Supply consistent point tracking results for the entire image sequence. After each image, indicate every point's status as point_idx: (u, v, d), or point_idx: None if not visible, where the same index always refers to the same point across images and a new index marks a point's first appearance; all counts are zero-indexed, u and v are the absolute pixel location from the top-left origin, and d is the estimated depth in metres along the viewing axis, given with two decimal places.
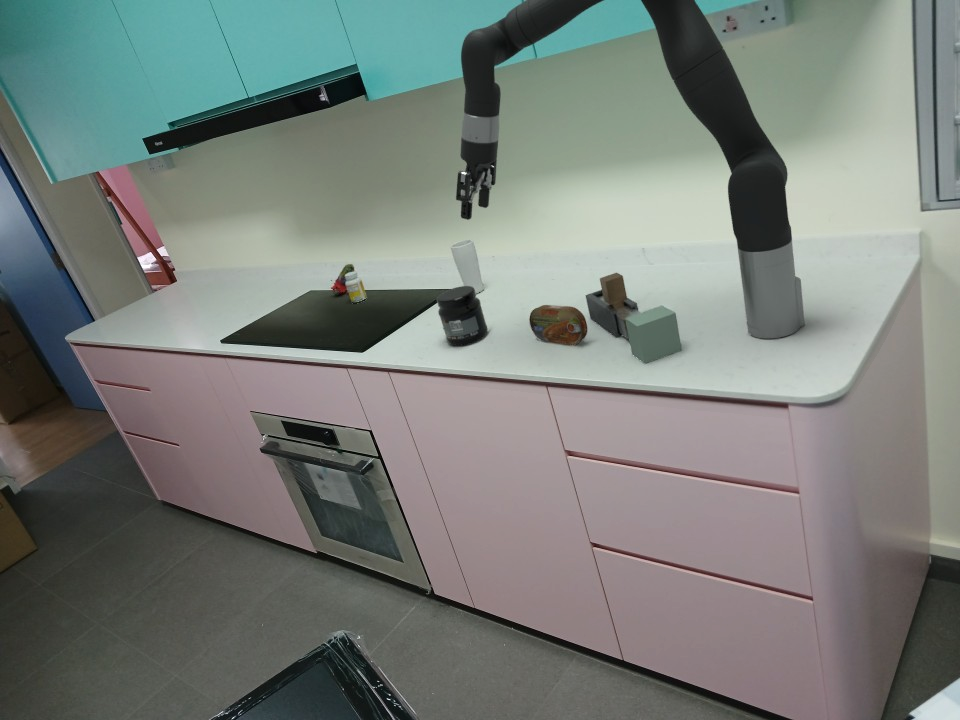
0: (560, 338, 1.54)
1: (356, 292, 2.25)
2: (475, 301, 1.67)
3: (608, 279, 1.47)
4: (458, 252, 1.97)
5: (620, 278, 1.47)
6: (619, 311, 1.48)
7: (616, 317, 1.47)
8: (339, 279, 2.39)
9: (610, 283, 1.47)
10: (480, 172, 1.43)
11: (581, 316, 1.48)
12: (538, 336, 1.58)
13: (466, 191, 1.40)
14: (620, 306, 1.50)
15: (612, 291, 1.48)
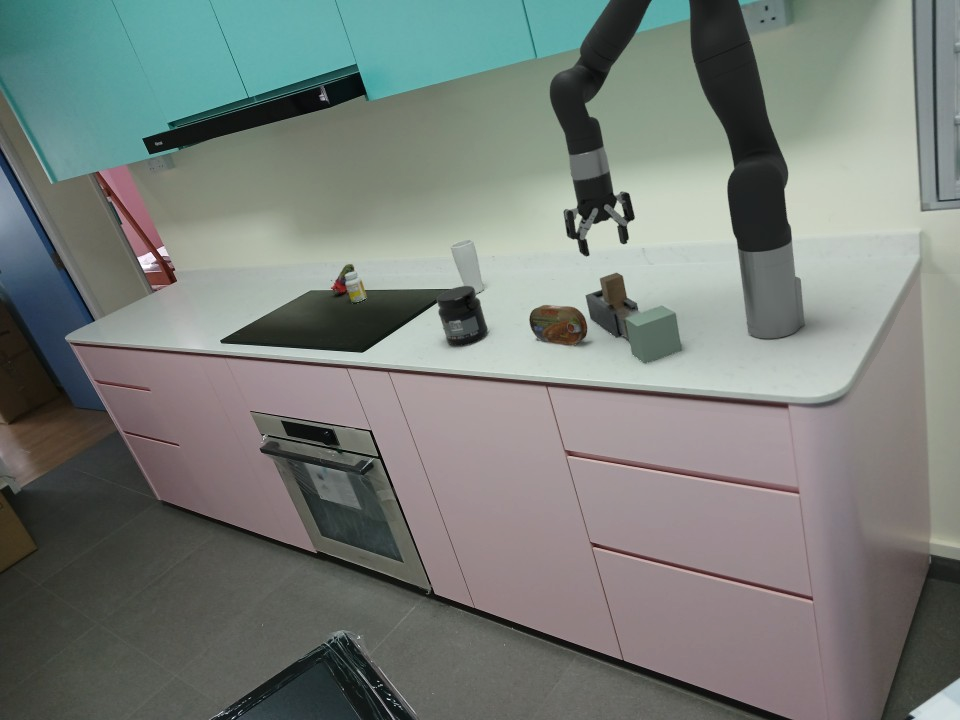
0: (560, 339, 1.54)
1: (356, 292, 2.25)
2: (475, 301, 1.67)
3: (608, 279, 1.47)
4: (458, 252, 1.97)
5: (620, 278, 1.47)
6: (619, 311, 1.48)
7: (616, 317, 1.47)
8: (339, 279, 2.39)
9: (610, 283, 1.47)
10: (592, 208, 1.41)
11: (581, 316, 1.48)
12: (538, 336, 1.58)
13: (569, 228, 1.41)
14: (620, 306, 1.50)
15: (612, 291, 1.48)
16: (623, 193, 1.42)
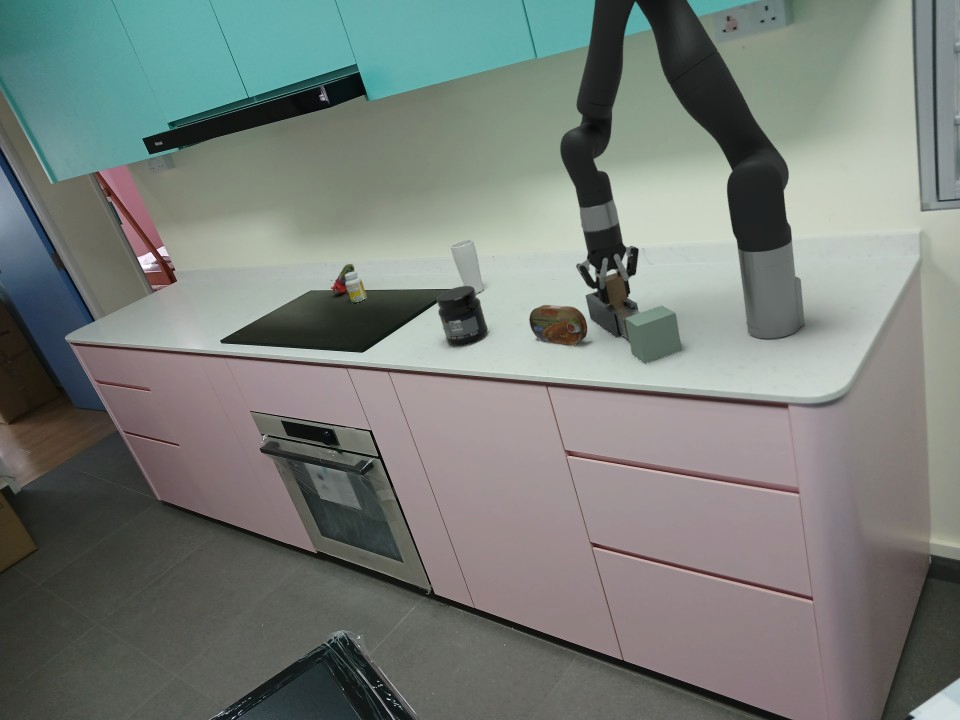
0: (560, 339, 1.54)
1: (356, 292, 2.25)
2: (475, 301, 1.67)
3: (608, 279, 1.47)
4: (458, 252, 1.97)
5: (620, 278, 1.47)
6: (619, 311, 1.48)
7: (616, 317, 1.47)
8: (339, 279, 2.39)
9: (610, 283, 1.47)
10: (601, 259, 1.45)
11: (581, 316, 1.48)
12: (538, 336, 1.58)
13: (587, 281, 1.46)
14: (620, 306, 1.50)
15: (612, 291, 1.48)
16: (633, 247, 1.47)
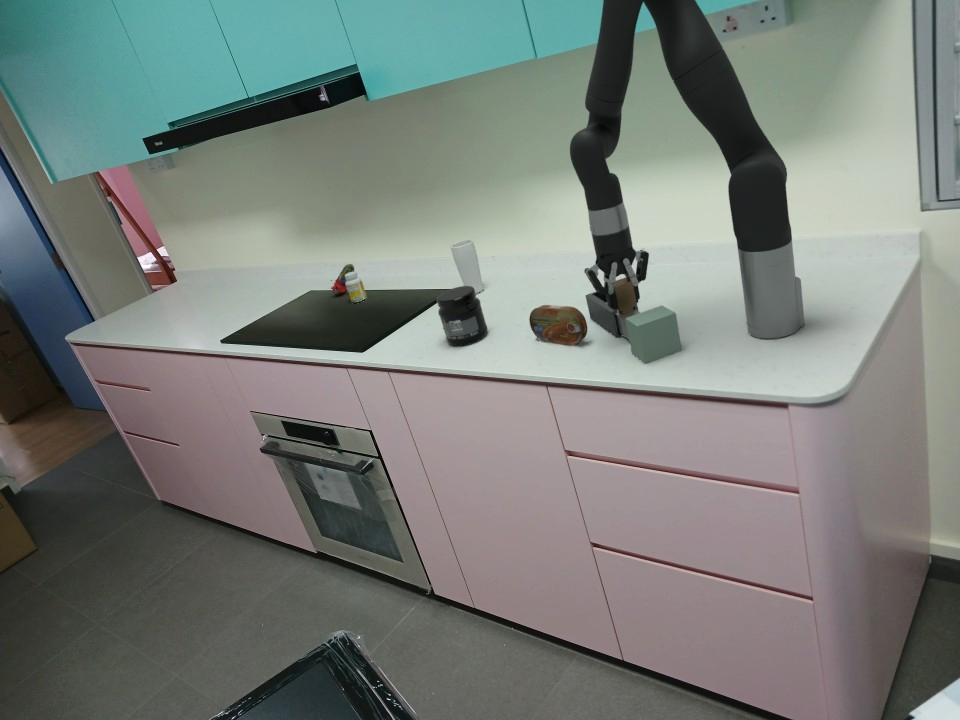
0: (560, 338, 1.54)
1: (356, 292, 2.25)
2: (475, 301, 1.67)
3: (617, 284, 1.43)
4: (458, 252, 1.97)
5: (630, 283, 1.43)
6: None
7: (625, 323, 1.43)
8: (339, 279, 2.39)
9: (619, 288, 1.43)
10: (610, 263, 1.41)
11: (581, 316, 1.48)
12: (538, 336, 1.58)
13: (595, 286, 1.42)
14: (630, 312, 1.45)
15: (622, 296, 1.43)
16: (643, 251, 1.42)
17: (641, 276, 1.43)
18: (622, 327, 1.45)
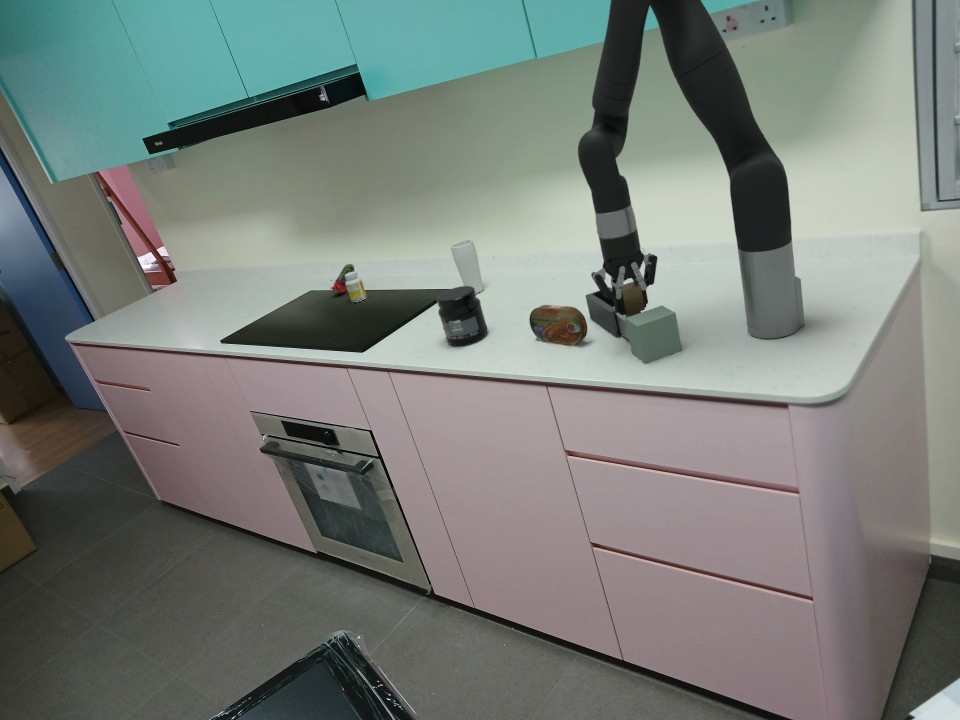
0: (560, 338, 1.54)
1: (356, 292, 2.25)
2: (475, 301, 1.67)
3: (625, 288, 1.40)
4: (458, 252, 1.97)
5: (638, 287, 1.39)
6: None
7: None
8: (339, 279, 2.39)
9: (627, 292, 1.39)
10: (618, 267, 1.37)
11: (581, 316, 1.48)
12: (538, 336, 1.58)
13: (603, 290, 1.38)
14: None
15: (629, 301, 1.40)
16: (651, 255, 1.39)
17: (649, 280, 1.40)
18: None
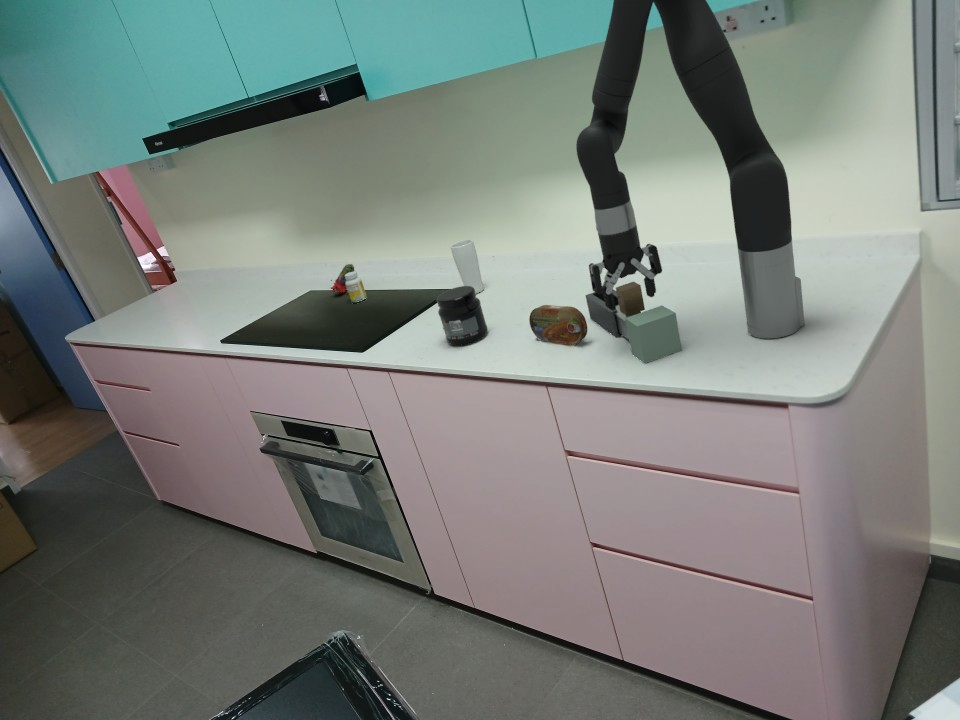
0: (560, 339, 1.54)
1: (356, 292, 2.25)
2: (475, 301, 1.67)
3: (625, 288, 1.40)
4: (458, 252, 1.97)
5: (638, 287, 1.39)
6: None
7: None
8: (339, 279, 2.39)
9: (627, 292, 1.39)
10: (618, 263, 1.37)
11: (581, 316, 1.48)
12: (538, 336, 1.58)
13: (595, 283, 1.37)
14: None
15: (629, 301, 1.40)
16: (650, 246, 1.38)
17: (657, 270, 1.39)
18: None
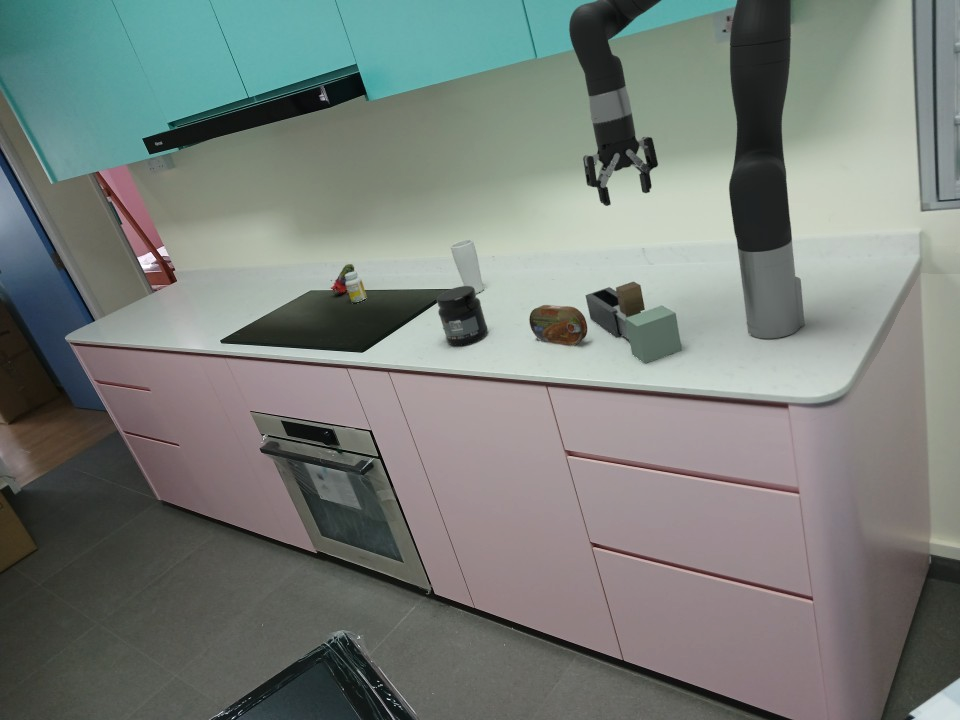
0: (560, 339, 1.54)
1: (356, 292, 2.25)
2: (475, 301, 1.67)
3: (625, 288, 1.40)
4: (458, 252, 1.97)
5: (638, 287, 1.39)
6: None
7: None
8: (339, 279, 2.39)
9: (627, 292, 1.39)
10: (613, 154, 1.34)
11: (581, 316, 1.48)
12: (538, 336, 1.58)
13: (589, 175, 1.35)
14: None
15: (629, 301, 1.40)
16: (646, 138, 1.35)
17: (652, 163, 1.37)
18: None
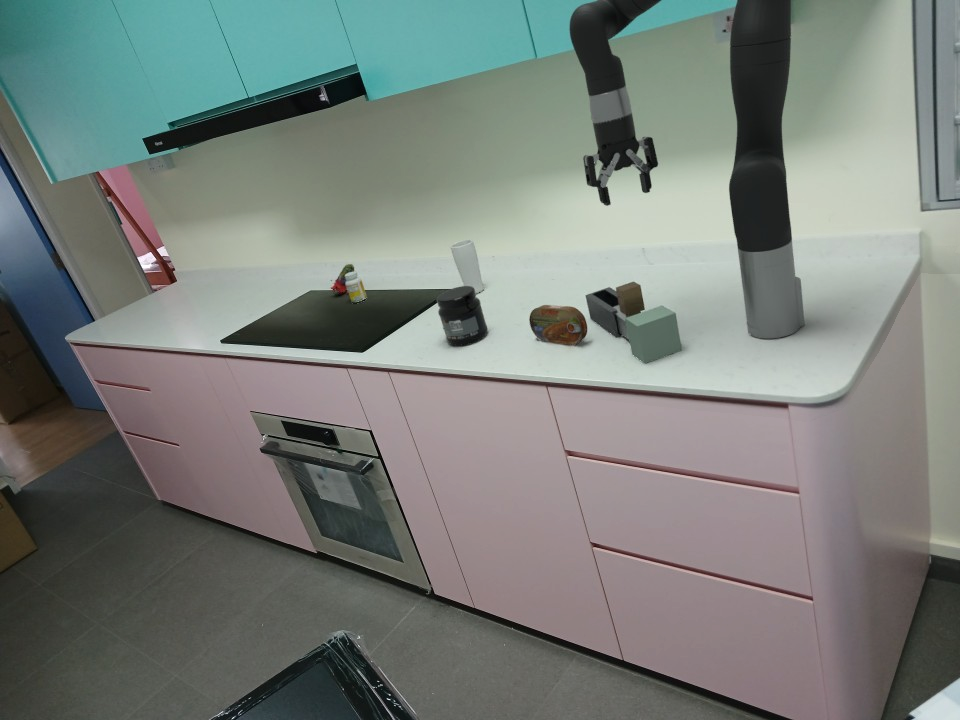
0: (560, 338, 1.54)
1: (356, 292, 2.25)
2: (475, 301, 1.67)
3: (625, 288, 1.40)
4: (458, 252, 1.97)
5: (638, 287, 1.39)
6: None
7: None
8: (339, 279, 2.39)
9: (627, 292, 1.39)
10: (613, 154, 1.34)
11: (581, 316, 1.48)
12: (538, 336, 1.58)
13: (589, 175, 1.35)
14: None
15: (629, 301, 1.40)
16: (646, 138, 1.35)
17: (652, 163, 1.37)
18: None
